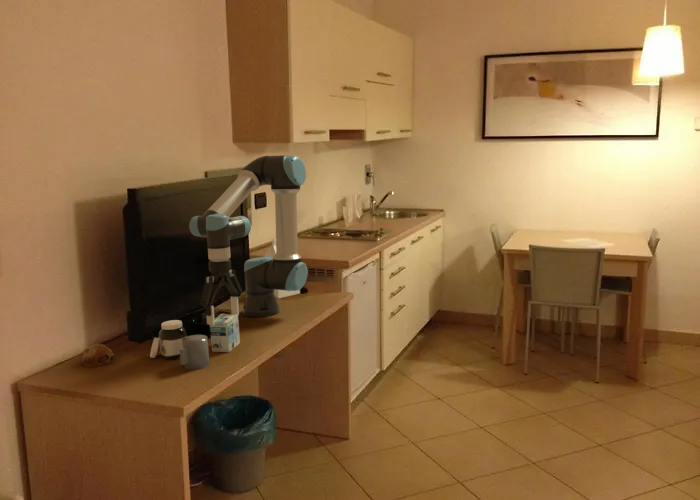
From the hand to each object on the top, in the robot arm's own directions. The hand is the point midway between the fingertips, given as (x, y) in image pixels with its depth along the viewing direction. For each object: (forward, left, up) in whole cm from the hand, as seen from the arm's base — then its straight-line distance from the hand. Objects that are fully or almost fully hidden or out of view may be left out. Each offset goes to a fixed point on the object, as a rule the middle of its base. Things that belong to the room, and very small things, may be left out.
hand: (223, 319), depth 227 cm
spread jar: (+15, -13, -11) cm, 22 cm away
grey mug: (+19, +2, -10) cm, 22 cm away
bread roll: (+28, -32, -11) cm, 43 cm away
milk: (-72, -23, -11) cm, 77 cm away
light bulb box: (0, 0, -11) cm, 11 cm away
